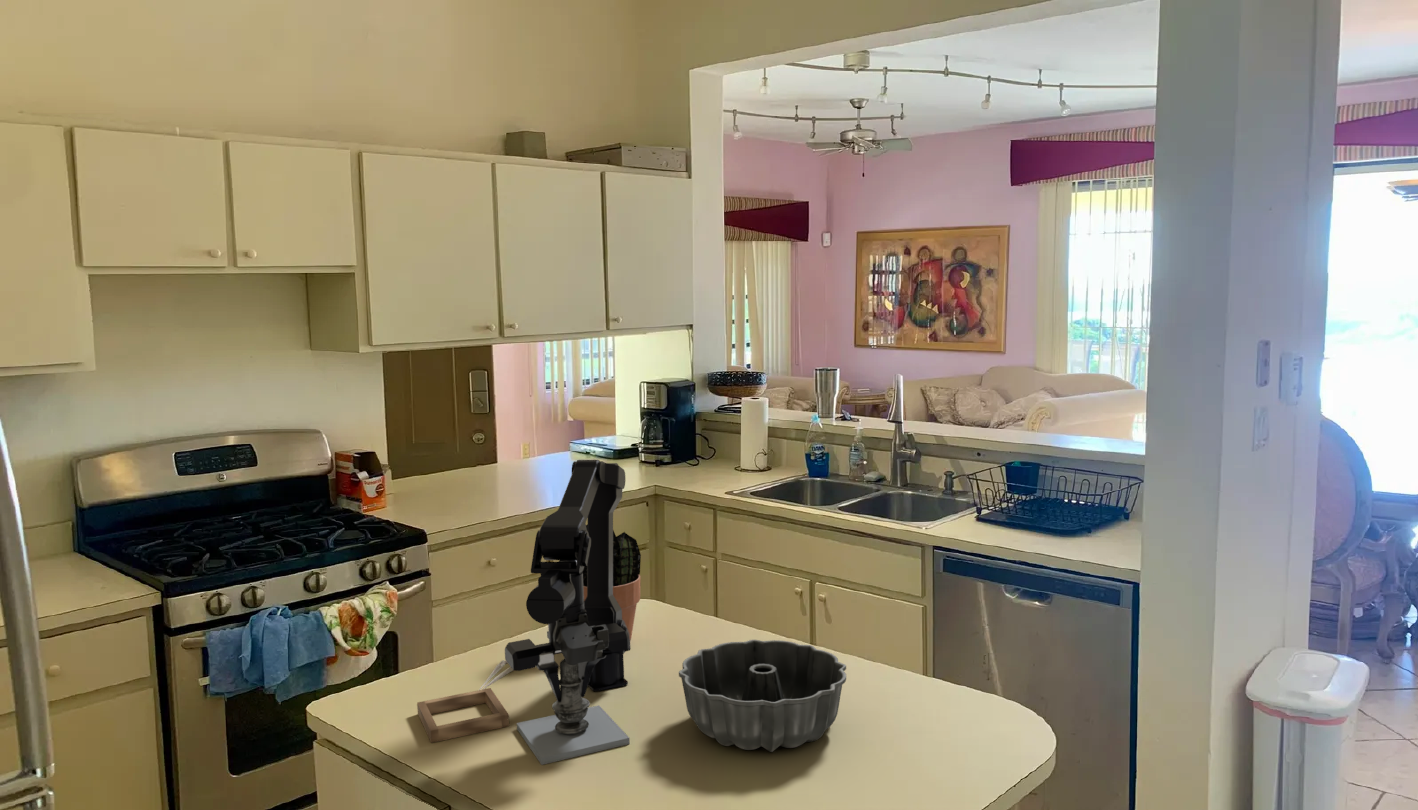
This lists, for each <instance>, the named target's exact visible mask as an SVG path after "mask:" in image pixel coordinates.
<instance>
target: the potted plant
mask: <svg viewBox="0 0 1418 810" xmlns="http://www.w3.org/2000/svg"><path fill="white" fill-rule="evenodd" d="M587 527H588V523H587V524H586V529H587ZM641 556H642V554H641V551H640V547H639V544H638V542H637V539H635V538H634V537H632V536H631V535H629V534H628V533H626V532H625V531H623V532H622V533H620V534H618V535H616V533H615V530H614V529H613V596H614V597H615V599H616V601H617V602H618V604H619V606H620V607H621V609H622V620H624V622H625V624H626V626H627V629H628V631H629V637H630V642H631V641H632V635H633V631H634V623H635V617H636V611H637V605H638V603H639V602H640V601H641V580H642V579H641V575H640V574H641ZM582 572H583V589H584V601H585V599H586V597H587V566H584V569H583V571H582Z"/></svg>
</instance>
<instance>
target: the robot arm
mask: <svg viewBox="0 0 1418 810" xmlns="http://www.w3.org/2000/svg"><path fill="white" fill-rule="evenodd" d="M625 487H626V472H625V469H624V468H623V467H621V466H620V465H619V463H617V462H604V461H601V460H599V459H578V460H575V461H573V462H572V464H571V476H570V478H569V480H568V484H567V486H566V488H565V491H564V494H563V496H562V499H561V502H560V504H559V507H558V509H557V510H556V511H554V512H552V513H551V514H549V515H547V517H546V518H545V519H544V521H543V523H542V524H541V526H540V527H539V530H537V532H536V535H535V540H534V541H535V542H534V547H533V553H532V554H533V555H532V559H531V566H530V573H531V574H540V576H539V577H538V578H537V580H538V581H537V585H536V586H535V587H534V588H533V589H532V590H531V591H530V592H529V593H528V595H527V599H526V603H525V606H526V610H527V614H528V615H529V616H530V617H531V619H533V621H535V622H537V623H540V624H543V625H548V626H547V627H548V629H547V631H546V634H547V636H546V637H547V639H548V642H544V643H540V644H535V643H534V642H533V641H532V640H531V639H530V638H527V639H522V640H515V641H511V642H508V643H507V644H506V646H505V648H504V661H507V664H508V665H509V667H511V668H512V669H513V671H516V672H520V671H526V670H529V669H534V668H537V670H539V671H540V672H541V671H542V672H543V673H544V674H545V677H546V679H547V682H548V683H549V686H550V687H551V691H552V693H553V695H554V696H555V699H556V700H555V701H558V702H561V689H560V684H559V680H560V678H559V677H560V676H559V669H560V664H558V662H556V661H555V656H556V655H558V654H562V656H563V659H565V661H566V663H567V664H569V665H577V664H578V671H579V678H580V679H581V683H580V695H581V697H582V698H585V696H586V693H587V689H588V687H589V688H590V689H591V691H593V692H599V691H604V690H608V689H612V688H618V687H622V686H626V685H628V684H629V682H628V680H627V679H626V678H625V668H624V667H625V665H624V654H625V653H626V652H629V651H631V641H630V637H629V631H628V629H627V626H626V624H625V622H624V620H622V609H621V607H620V606H619V604H618V602H617V601H616V599H615V597H614V596H613V530H614V512H615V510H616V509H617V507H618V505H619V504H620V502H621V500H622V499H623V489H625ZM586 523H587V524H588V527H587V529H586V525H587V524H586ZM542 559H543V560H544V561H542ZM584 566H587V597H586V599H585V601H584V589H583V572H582V571H583V569H584Z"/></svg>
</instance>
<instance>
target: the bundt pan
mask: <svg viewBox="0 0 1418 810" xmlns="http://www.w3.org/2000/svg"><path fill="white" fill-rule="evenodd" d="M846 670H847V665H846V664H845V663H842V662H839V659H838V657H837V656H836V655H835V654H833V653H831V652H829V651H826V650H823V649H817V648H816V647H815V646H813V645H811V644H799V643H796V642H793V641H788V640H780V639H778V640H775V639H774V640H773V639H772V640H770V639H769V640H761V639H749V640H746V641H730V642H729V641H728V642H723V643H719V644H717V645H714V646H712V647H710V648H709V647H708V648H701V649H699V650H698V651H697V653H696V654H693V655H691V656H689V657H687V658H685V659H684V660H683V661H682V669H681V670H679V671H678V677H679V678H681V683H682V688H683V693H684V699H685V703H686V704H685V706H686V709H687V712H688V714H689V717H690V718H691V719H692V720H693V722H694V723H695V725H696V726H697V728H698V730H699V731H701V732H702V733H703V734H704V735H706V736H708V737H709V738H712V739H715V740H716V741H717V743H719V744H720V745H722V746H726V747H729V746H733V745H735V746H736V747H738V748H739V749H741V750H745V751H751V750H756V749H759V748H761V747H762V748H764V749H765V750H766V751H768V752H769V753H770V752H771V753H773V752H774V751H775V750H777V749H778V748H780V747H782V748H786V749H792V748H797V747H800V746H802V745H803V744H804V743H811V742H815V741H817V740H819V739H820V738H821V737H823V735H824V734H825V732H826V730H828V729H829V728H831V726H832V725H833V724H834V722H835V720H836V718H837V715H838V712H839V707H840V702H841V701H840V699H841V694H842V688H843V685H844V684H845V683H846V681H847V673H846V672H845V671H846Z"/></svg>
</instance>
